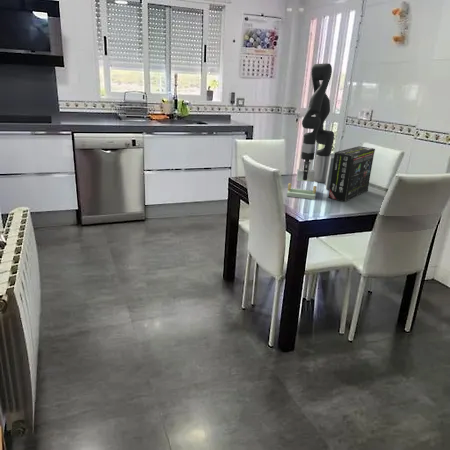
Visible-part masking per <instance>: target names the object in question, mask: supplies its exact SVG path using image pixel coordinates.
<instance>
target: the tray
mask: <svg viewBox="0 0 450 450" xmlns="http://www.w3.org/2000/svg"><path fill="white" fill-rule="evenodd" d="M316 194H317V186H316V185H314V186H313V188H312V190H311V189H303V188H302V189H301V188H294V187H293V188H292V183H290V182H289V183H288V184H287V192H286V197H293V198H298V199H299V198H302V199H308V200H316Z"/></svg>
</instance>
